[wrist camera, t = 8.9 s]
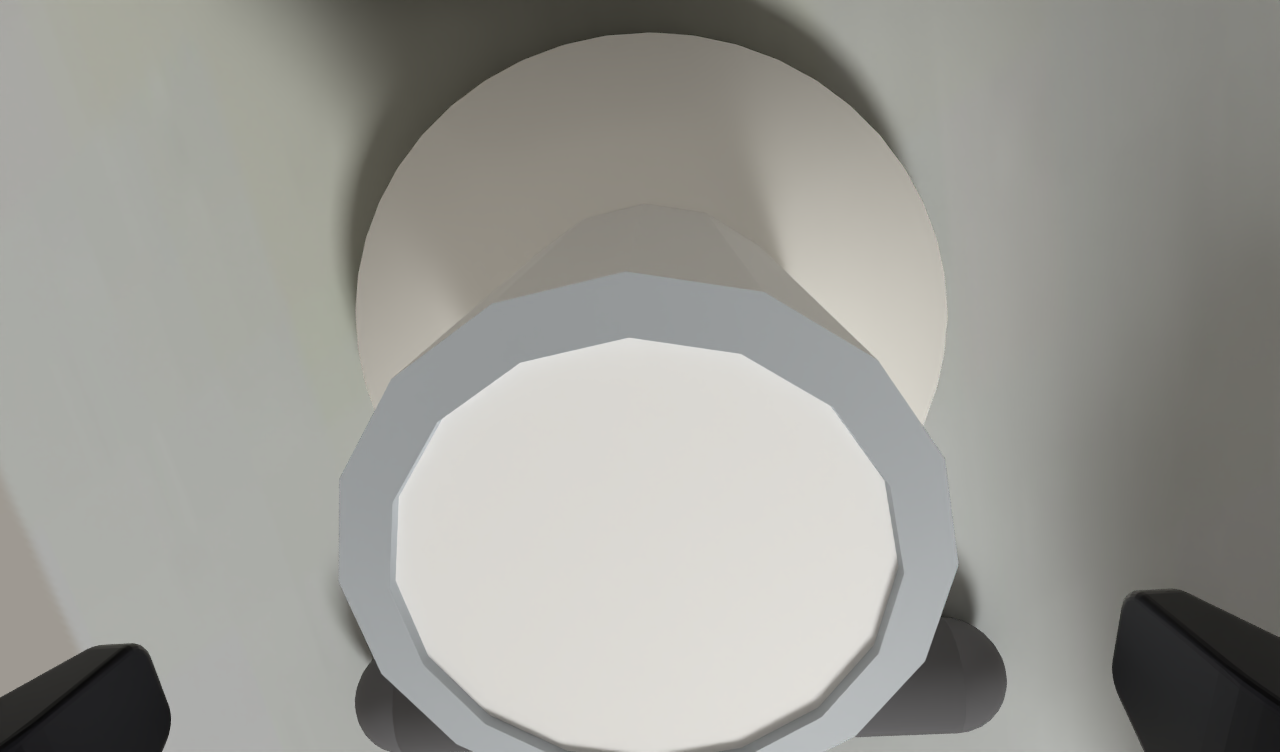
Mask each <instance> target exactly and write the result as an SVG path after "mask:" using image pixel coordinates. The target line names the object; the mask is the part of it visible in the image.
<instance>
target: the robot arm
mask: <svg viewBox="0 0 1280 752" xmlns="http://www.w3.org/2000/svg"><path fill="white" fill-rule="evenodd" d="M1112 673H1113V680H1114V684H1115V687H1116V691H1117V693H1118V696H1119V698H1120V700H1121V702H1122V704H1123V707H1124V709H1125V711H1126V713H1127V715H1128V717H1129V720H1130V722H1131V724H1132V726H1133V728H1134V730H1135V733H1136V735H1137V737H1138V739H1139V741H1140V744H1141V746H1142V748H1143V750H1144V752H1280V637H1277V636H1275V635H1273V634H1271V633H1269V632H1267V631H1265V630H1263V629H1261V628H1259V627H1257V626H1255V625H1253V624H1251V623H1249V622H1246V621H1244V620H1242V619H1240V618H1238V617H1236V616H1234V615H1232V614H1230V613H1228V612H1226V611H1224V610H1222V609H1220V608H1218V607H1215V606H1213V605H1211V604H1209V603H1207V602H1205V601H1203V600H1201V599H1199V598H1197V597H1195V596H1193V595H1191V594H1189V593H1187V592H1184V591H1182V590H1177V589H1157V590H1139V591H1133V592H1132V593H1130V594H1128V595H1127V596H1126V598H1125V599H1124V601H1123V605H1122V608H1121V614H1120V620H1119V626H1118V632H1117V638H1116V644H1115V650H1114V656H1113V663H1112ZM170 725H171V714H170V708H169V705H168V702H167V700H166V697H165V694H164V692H163V689H162V686H161V684H160V681H159V678H158V676H157V673H156V670H155V668H154V665H153V662H152V660H151V657H150V655H149V653H148V651H147V650H146V649H145V648H143V647H142V646H141V645H138V644H134V643H129V644H109V645H98V646H94V647H91V648H89V649H87V650H85V651H83V652H81V653H80V654H78V655H76V656H74V657H73V658H71V659H69V660H67V661H65V662H63V663H62V664H60V665H58V666H56V667H54V668H53V669H51V670H49V671H47V672H45V673H44V674H42V675H40V676H38V677H36V678H35V679H33V680H31V681H29V682H28V683H26V684H24V685H22V686H20V687H18V688H17V689H15V690H13V691H11V692H9V693H8V694H6V695H4V696H2V697H0V752H162V751H163V748H164V746H165V744H166V741H167V738H168V735H169V731H170Z"/></svg>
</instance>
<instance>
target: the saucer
mask: <svg viewBox="0 0 1280 752" xmlns="http://www.w3.org/2000/svg"><path fill="white" fill-rule="evenodd" d="M642 204H648V205H655V206H661V207H668V208H675V209H681V210H688V211H694V212H701V213H706V214H708V215H710V216H711V217H713V218H715V219H716V220H718V221H720V222H721V223H723V224H724V225H726V226H728V227H729V228H731V229H733V230H734V231H736V232H738V233H739V234H741V235H742V236H744V237H746V238H747V239H749V240H751V241H752V242H754V243H756V244H757V245H759V246H760V247H761V248H762V249H763V250H764V251H765V252H766V253H767V254H768V255H769V256H770V257H771V258H772V259H773V260H774V261H775V262H776V263H777V264H778V265H779V266H781V267H782V268H783V269H784V270H785V271H786V272H787V273H788V274H789V275H790V276H791V277H792V278H793V279H794V280H795V281H796V282H797V283H798V284H799V285H800V286H801V287H802V288H803V289H804V290H805V291H807V292H808V293H809V294H810V295H811V296H812V297H813V298H814V299H815V300H816V301H817V302H818V303H819V304H820V305H821V306H822V307H823V308H824V309H825V310H826V311H827V312H828V313H829V314H830V315H831V316H833V317H834V318H835V319H836V320H837V321H838V322H839V323H840V324H841V325H842V326H843V327H844V328H845V329H846V330H847V331H848V332H849V333H850V334H851V335H852V336H853V337H854V338H855V339H856V340H857V341H859V342H860V343H861V344H862V345H863V346H864V347H865V348H866V349H867V350H868V351H869V352H870V353H871V354H872V355H873V356H874V357H875V358H876V359H877V360H878V361H879V362H880V364H881V365H882V367H883V368H884V370H885V371H886V373H887V374H888V376H889V377H890V379H891V380H892V382H893V383H894V384H895V386H896V387H897V389H898V390H899V392H900V393H901V395H902V396H903V398H904V399H905V401H906V402H907V403H908V405H909V406H910V408H911V409H912V411H913V412H914V414H915V415H916V417H917V418H918V420H919V421H920V423H921V424H922V425H923V424H924V422H925V420H926V417H927V414H928V412H929V409H930V406H931V403H932V400H933V398H934V395H935V392H936V389H937V386H938V381H939V377H940V372H941V368H942V363H943V358H944V354H945V343H946V330H947V316H948V313H947V298H946V283H945V275H944V270H943V265H942V260H941V256H940V251H939V246H938V242H937V238H936V235H935V233H934V230H933V227H932V225H931V222H930V219H929V216H928V214H927V211H926V208H925V205H924V203H923V201H922V199H921V197H920V196H919V194H918V192H917V190H916V188H915V186H914V184H913V183H912V181H911V179H910V177H909V175H908V173H907V172H906V170H905V168H904V167H903V165H902V164H901V163H900V161H899V160H898V159H897V157H896V156H895V155H894V153H893V152H892V151H891V149H890V148H889V147H888V145H887V144H886V143H885V141H884V140H883V138H882V137H881V136H880V135H879V134H878V133H877V132H876V131H875V130H874V129H873V128H872V127H871V126H870V125H869V124H868V123H867V122H866V121H865V120H864V119H863V118H862V117H861V116H860V115H859V114H858V113H857V112H856V111H855V110H854V109H853V108H852V107H851V106H850V105H849V104H847V103H846V102H845V101H843V100H842V99H841V98H839V97H838V96H837V95H835V94H834V93H833V92H831V91H830V90H829V89H827V88H826V87H825V86H823V85H822V84H821V83H819V82H818V81H817V80H815V79H813V78H811V77H809V76H807V75H806V74H804V73H802V72H800V71H798V70H796V69H794V68H793V67H791V66H789V65H787V64H785V63H783V62H781V61H780V60H778V59H775V58H772V57H769V56H767V55H764V54H761V53H759V52H756V51H753V50H750V49H748V48H745V47H742V46H740V45H737V44H732V43H727V42H723V41H718V40H713V39H708V38H704V37H699V36H694V35H681V34H666V33H651V32H648V33H635V34H621V35H608V36H602V37H597V38H593V39H588V40H584V41H579V42H574V43H570V44H565V45H562V46H559V47H556V48H554V49H551V50H548V51H546V52H543V53H540V54H537V55H535V56H532V57H529V58H527V59H524V60H522V61H520V62H518V63H516V64H514V65H513V66H511V67H509V68H507V69H505V70H503V71H502V72H500V73H498V74H496V75H494V76H492V77H491V78H489V79H487V80H485V81H484V82H482V83H481V84H480V85H478V86H477V87H476V88H474V89H473V90H472V91H470V92H469V93H468V94H466V95H465V96H464V97H462V98H461V99H460V100H458V101H457V102H456V103H454V104H453V105H452V106H450V107H449V108H448V109H447V110H446V111H445V112H444V113H443V115H442V116H441V117H440V118H439V119H438V120H437V121H436V122H435V123H434V124H433V125H432V126H431V127H430V128H429V129H428V130H427V131H426V132H425V133H424V134H423V135H422V136H421V137H420V138H419V140H418V141H417V142H416V144H415V145H414V146H413V148H412V149H411V151H410V152H409V153H408V155H407V156H406V157H405V159H404V160H403V161H402V163H401V164H400V165H399V167H398V168H397V170H396V172H395V174H394V176H393V177H392V179H391V181H390V183H389V185H388V187H387V189H386V190H385V192H384V194H383V196H382V198H381V200H380V202H379V204H378V207H377V209H376V212H375V215H374V218H373V220H372V223H371V226H370V228H369V231H368V234H367V237H366V240H365V245H364V249H363V254H362V259H361V264H360V268H359V273H358V283H357V297H356V311H355V313H356V328H357V342H358V351H359V356H360V361H361V366H362V370H363V375H364V380H365V384H366V387H367V390H368V393H369V396H370V399H371V402H372V404H373V407H374V410H375V409H376V407H377V405H378V404H379V402H380V400H381V398H382V396H383V394H384V392H385V390H386V388H387V386H388V384H389V382H390V380H391V379H392V378H393V377H394V376H395V375H396V374H398V373H399V372H400V371H401V370H402V369H403V368H405V367H406V366H407V365H408V364H409V363H411V362H412V361H413V360H414V359H415V358H416V357H418V356H419V355H420V354H421V353H422V352H423V351H425V350H426V349H427V348H428V347H429V346H430V345H432V344H433V343H434V342H435V341H436V340H437V339H439V338H440V337H441V336H442V335H443V334H444V333H446V332H447V331H448V330H449V329H450V328H451V327H453V326H454V325H455V324H456V323H457V322H458V321H460V320H461V319H462V318H463V317H464V316H465V315H467V314H468V313H469V312H470V311H471V310H472V309H474V308H475V307H476V306H477V305H478V304H479V303H481V302H482V301H483V300H484V299H485V298H486V297H488V296H489V295H490V294H491V293H492V292H493V291H495V290H496V289H497V288H498V287H499V286H500V285H502V284H503V283H504V282H505V281H506V280H507V279H509V278H510V277H511V276H512V275H513V274H514V273H516V272H517V271H518V270H519V269H520V268H521V267H523V266H524V265H525V264H526V263H527V262H528V261H530V260H531V259H532V258H533V257H534V256H535V255H537V254H538V253H539V252H541V251H542V250H543V249H545V248H546V247H547V246H549V245H550V244H551V243H553V242H554V241H555V240H556V239H558V238H559V237H560V236H562V235H563V234H564V233H566V232H567V231H568V230H570V229H571V228H572V227H574V226H575V225H576V224H578V223H579V222H580V221H582V220H583V219H586V218H590V217H594V216H598V215H602V214H606V213H610V212H614V211H618V210H622V209H626V208H630V207H634V206H638V205H642Z"/></svg>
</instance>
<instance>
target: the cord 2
mask: <svg viewBox="0 0 1280 752" xmlns="http://www.w3.org/2000/svg"><path fill="white" fill-rule="evenodd" d="M1006 687H1007V678H1006V671H1005V666H1004V663H1003V660H1002V658H1001V656H1000V654H999V652H998V650H997V649H996V647H995V645H994V644H993V643H992V642H991V641H990V640H989V639H988V637H987V636H986V635H985V634H984V633H982V632H981V631H980V630H978V629H977V628H976V627H974V626H972V625H970V624H968V623H966V622H964V621H961V620H957V619H953V618H944V617H940V620H939V623H938V625H937V628H936V631H935V634H934V637H933V640H932V643H931V646H930V648H929V651H928V654H927V657H926V660H925V662H924V663H923V664H922V665H921V666H920V667H919V668H918V669H917V670H916V671H915V673H914V674H913V675H912V676H911V677H910V678H909V679H908V680H907V681H906V682H905V683H904V684H903V685H902V687H901V688H900V689H899V690H898V691H897V692H896V693H895V694H894V695H893V696H892V697H891V698H890V699H889V701H888V702H887V703H886V704H885V705H884V706H883V707H882V708H881V709H880V710H879V711H878V712H877V713H876V714H875V716H874V717H873V718H872V719H871V720H870V721H869V722H868V723H867V724H866V725H865V726H864V727H863V728H862V730H861V731H860V732H859V733H858V734H857V735H856V736H855V737H871V736H897V735H923V734H950V733H962V732H968V731H971V730H974V729H976V728H979V727H981V726H983V725H984V724H986V723H987V722H989V721H990V720H991V719H992V718H993V716H994V715H995V714H996V713H997V712H998V711H999V709H1000V707H1001V705H1002V703H1003V700H1004V697H1005V692H1006ZM355 709H356V714H357V718H358V722H359V724H360V726H361V728H362V730H363V731H364V733H365V735H366V736H367V737H368V738H369V739H370V740H371V741H372V742H373V743H374V744H375V745H377V746H379V747H380V748H382V749H384V750H387V751H390V752H473V751H471V750H468V749H466V748H464V747H462V746H460V745H457V744H456V743H455V742H454V741H453V740H452V739H450V738H449V737H448V736H447V735H446V734H445V733H444V732H443V731H442V730H441V729H440V728H439V727H438V726H437V725H436V724H434V723H433V722H432V721H431V720H430V719H429V718H428V717H427V716H426V715H425V714H424V713H423V712H422V711H421V710H420V709H418V708H417V707H416V706H415V705H414V704H413V703H412V702H411V701H410V700H409V699H408V698H407V697H406V696H405V695H403V694H402V693H401V692H400V691H399V690H398V689H397V688H396V687H395V686H394V685H393V684H392V683H391V682H390V681H389V680H387V679H386V678H385V677H384V676H383V675H382V674H381V672H380V670H379V668H378V665H377V663H376V661H375V659H373V660H372V661H371V662H370V664H369V665H368V666H367V668H366V669H365V671H364V672H363V674H362V676H361V679H360V681H359V684H358V687H357V691H356V697H355Z"/></svg>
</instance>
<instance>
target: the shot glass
mask: <svg viewBox="0 0 1280 752" xmlns="http://www.w3.org/2000/svg"><path fill="white" fill-rule="evenodd" d="M958 565H959V563H958V555H957V547H956V540H955V532H954V524H953V517H952V509H951V501H950V494H949V486H948V478H947V471H946V463H945V458H944V456H943V455H942V453H941V452H940V450H939V449H938V447H937V446H936V444H935V443H934V442H933V440H932V439H931V437H930V436H929V434H928V433H927V431H926V430H925V428H924V427H923V425H922V424H921V423H920V421H919V420H918V418H917V417H916V415H915V414H914V412H913V411H912V409H911V408H910V406H909V405H908V403H907V402H906V401H905V399H904V398H903V396H902V395H901V393H900V392H899V390H898V389H897V387H896V386H895V384H894V383H893V382H892V380H891V379H890V377H889V376H888V374H887V373H886V371H885V370H884V368H883V367H882V365H881V364H880V362H879V361H878V360H877V359H876V358H875V357H874V356H873V355H872V354H871V353H870V352H869V351H868V350H867V349H866V348H865V347H864V346H863V345H862V344H861V343H860V342H859V341H857V340H856V339H855V338H854V337H853V336H852V335H851V334H850V333H849V332H848V331H847V330H846V329H845V328H844V327H843V326H842V325H841V324H840V323H839V322H838V321H837V320H836V319H835V318H834V317H833V316H831V315H830V314H829V313H828V312H827V311H826V310H825V309H824V308H823V307H822V306H821V305H820V304H819V303H818V302H817V301H816V300H815V299H814V298H813V297H812V296H811V295H810V294H809V293H808V292H807V291H805V290H804V289H803V288H802V287H801V286H800V285H799V284H798V283H797V282H796V281H795V280H794V279H793V278H792V277H791V276H790V275H789V274H788V273H787V272H786V271H785V270H784V269H783V268H782V267H781V266H779V265H778V264H777V263H776V262H775V261H774V260H773V259H772V258H771V257H770V256H769V255H768V254H767V253H766V252H765V251H764V250H763V249H762V248H761V247H760V246H759V245H757V244H756V243H754V242H752V241H751V240H749V239H747V238H746V237H744V236H742V235H741V234H739V233H738V232H736V231H734V230H733V229H731V228H729V227H728V226H726V225H724V224H723V223H721V222H720V221H718V220H716V219H715V218H713V217H711V216H710V215H708V214H706V213H701V212H694V211H688V210H681V209H675V208H668V207H661V206H655V205H648V204H642V205H638V206H634V207H630V208H626V209H622V210H618V211H614V212H610V213H606V214H602V215H598V216H594V217H590V218H586V219H583V220H582V221H580V222H579V223H578V224H576V225H575V226H574V227H572V228H571V229H570V230H568V231H567V232H566V233H564V234H563V235H562V236H560V237H559V238H558V239H556V240H555V241H554V242H553V243H551V244H550V245H549V246H547V247H546V248H545V249H543V250H542V251H541V252H539V253H538V254H537V255H535V256H534V257H533V258H532V259H531V260H530V261H528V262H527V263H526V264H525V265H524V266H523V267H521V268H520V269H519V270H518V271H517V272H516V273H514V274H513V275H512V276H511V277H510V278H509V279H507V280H506V281H505V282H504V283H503V284H502V285H500V286H499V287H498V288H497V289H496V290H495V291H493V292H492V293H491V294H490V295H489V296H488V297H486V298H485V299H484V300H483V301H482V302H481V303H479V304H478V305H477V306H476V307H475V308H474V309H472V310H471V311H470V312H469V313H468V314H467V315H465V316H464V317H463V318H462V319H461V320H460V321H458V322H457V323H456V324H455V325H454V326H453V327H451V328H450V329H449V330H448V331H447V332H446V333H444V334H443V335H442V336H441V337H440V338H439V339H437V340H436V341H435V342H434V343H433V344H432V345H430V346H429V347H428V348H427V349H426V350H425V351H423V352H422V353H421V354H420V355H419V356H418V357H416V358H415V359H414V360H413V361H412V362H411V363H409V364H408V365H407V366H406V367H405V368H403V369H402V370H401V371H400V372H399V373H398V374H396V375H395V376H394V377H393V378H392V379H391V380H390V382H389V384H388V386H387V388H386V390H385V392H384V394H383V396H382V398H381V400H380V402H379V404H378V405H377V407H376V409H375V411H374V413H373V415H372V417H371V419H370V421H369V423H368V425H367V427H366V429H365V430H364V432H363V434H362V436H361V438H360V440H359V442H358V444H357V446H356V448H355V450H354V452H353V454H352V455H351V457H350V459H349V461H348V463H347V465H346V467H345V469H344V471H343V473H342V475H341V477H340V484H339V584H340V586H341V588H342V590H343V592H344V594H345V597H346V599H347V601H348V603H349V605H350V607H351V609H352V612H353V614H354V616H355V618H356V620H357V622H358V625H359V627H360V629H361V631H362V633H363V635H364V637H365V640H366V642H367V644H368V646H369V648H370V650H371V653H372V655H373V657H374V659H375V661H376V663H377V665H378V668H379V670H380V672H381V674H382V675H383V676H384V677H385V678H386V679H387V680H389V681H390V682H391V683H392V684H393V685H394V686H395V687H396V688H397V689H398V690H399V691H400V692H401V693H402V694H403V695H405V696H406V697H407V698H408V699H409V700H410V701H411V702H412V703H413V704H414V705H415V706H416V707H417V708H418V709H420V710H421V711H422V712H423V713H424V714H425V715H426V716H427V717H428V718H429V719H430V720H431V721H432V722H433V723H434V724H436V725H437V726H438V727H439V728H440V729H441V730H442V731H443V732H444V733H445V734H446V735H447V736H448V737H449V738H450V739H452V740H453V741H454V742H455V743H456V744H457V745H460V746H462V747H464V748H466V749H468V750H471V751H473V752H825V751H827V750H829V749H831V748H833V747H835V746H837V745H839V744H841V743H843V742H845V741H847V740H849V739H851V738H853V737H855V736H856V735H857V734H858V733H859V732H860V731H861V730H862V728H863V727H864V726H865V725H866V724H867V723H868V722H869V721H870V720H871V719H872V718H873V717H874V716H875V714H876V713H877V712H878V711H879V710H880V709H881V708H882V707H883V706H884V705H885V704H886V703H887V702H888V701H889V699H890V698H891V697H892V696H893V695H894V694H895V693H896V692H897V691H898V690H899V689H900V688H901V687H902V685H903V684H904V683H905V682H906V681H907V680H908V679H909V678H910V677H911V676H912V675H913V674H914V673H915V671H916V670H917V669H918V668H919V667H920V666H921V665H922V664H923V663H924V662H925V660H926V657H927V654H928V651H929V648H930V646H931V643H932V640H933V637H934V634H935V631H936V628H937V625H938V623H939V620H940V617H941V614H942V611H943V608H944V605H945V603H946V600H947V597H948V594H949V591H950V588H951V585H952V582H953V580H954V577H955V574H956V571H957V568H958Z"/></svg>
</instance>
